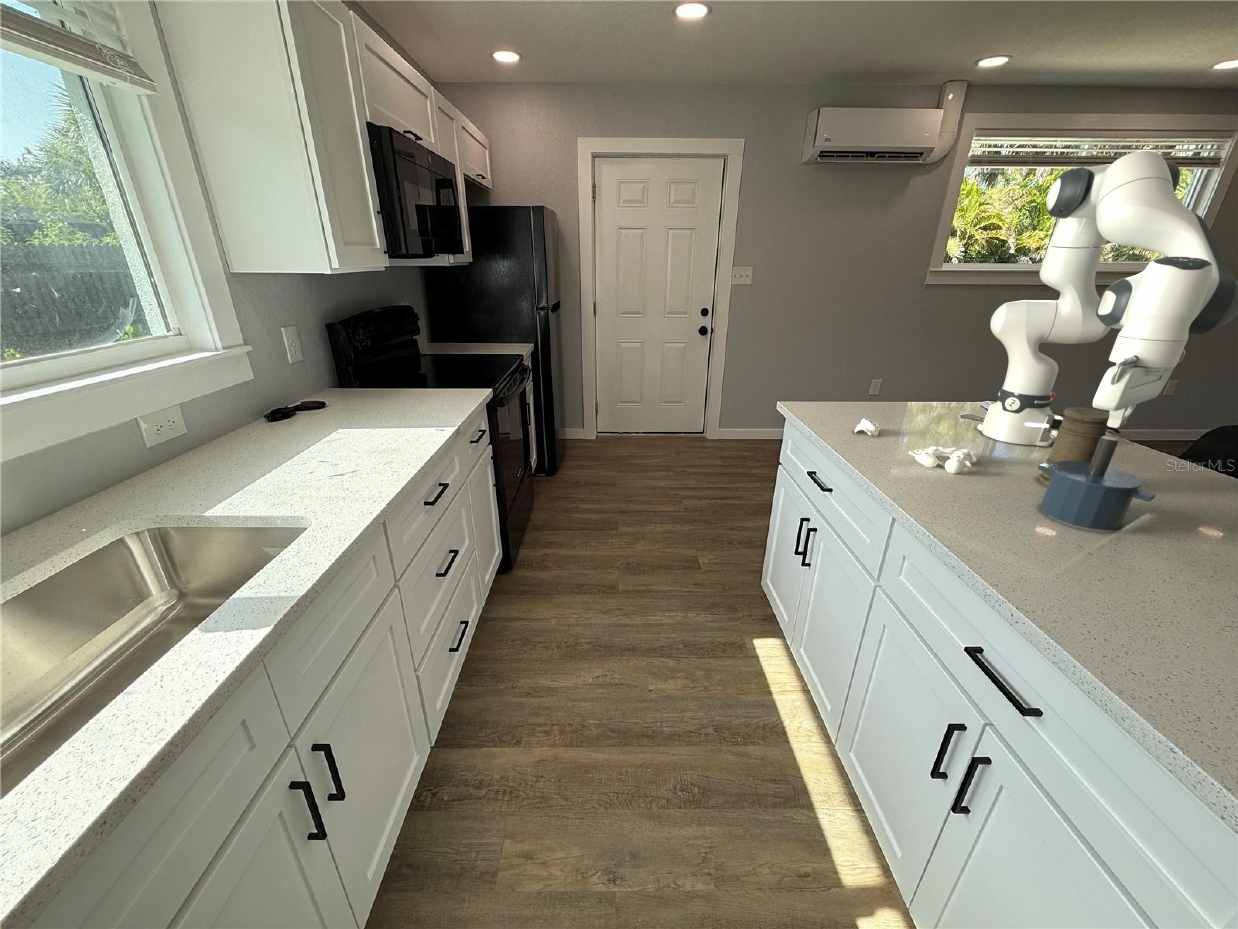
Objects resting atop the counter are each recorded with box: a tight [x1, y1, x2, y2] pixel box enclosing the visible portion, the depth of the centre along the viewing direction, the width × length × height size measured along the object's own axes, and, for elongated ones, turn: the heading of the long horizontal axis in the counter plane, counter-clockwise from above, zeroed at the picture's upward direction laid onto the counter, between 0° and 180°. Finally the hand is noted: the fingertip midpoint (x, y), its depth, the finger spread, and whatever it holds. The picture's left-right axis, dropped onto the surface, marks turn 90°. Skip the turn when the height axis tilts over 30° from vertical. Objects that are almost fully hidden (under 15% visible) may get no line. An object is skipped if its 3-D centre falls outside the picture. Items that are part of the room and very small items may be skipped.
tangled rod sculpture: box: [908, 445, 977, 475], centre depth 129 cm, size 19×14×4 cm
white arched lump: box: [854, 417, 880, 436], centre depth 151 cm, size 8×7×5 cm
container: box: [1037, 407, 1109, 485], centre depth 113 cm, size 9×9×18 cm
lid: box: [1052, 435, 1143, 490], centre depth 97 cm, size 13×13×9 cm
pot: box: [1037, 462, 1156, 531], centre depth 100 cm, size 12×18×10 cm
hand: (1115, 426), depth 94 cm, fingers closed
